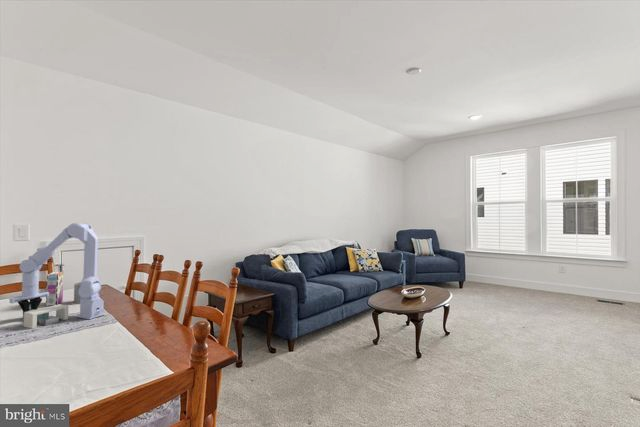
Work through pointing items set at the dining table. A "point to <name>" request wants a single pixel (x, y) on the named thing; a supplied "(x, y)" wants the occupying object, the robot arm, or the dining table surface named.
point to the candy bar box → (54, 288)
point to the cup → (76, 295)
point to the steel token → (48, 320)
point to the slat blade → (39, 315)
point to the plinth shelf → (31, 316)
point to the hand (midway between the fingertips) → (29, 315)
